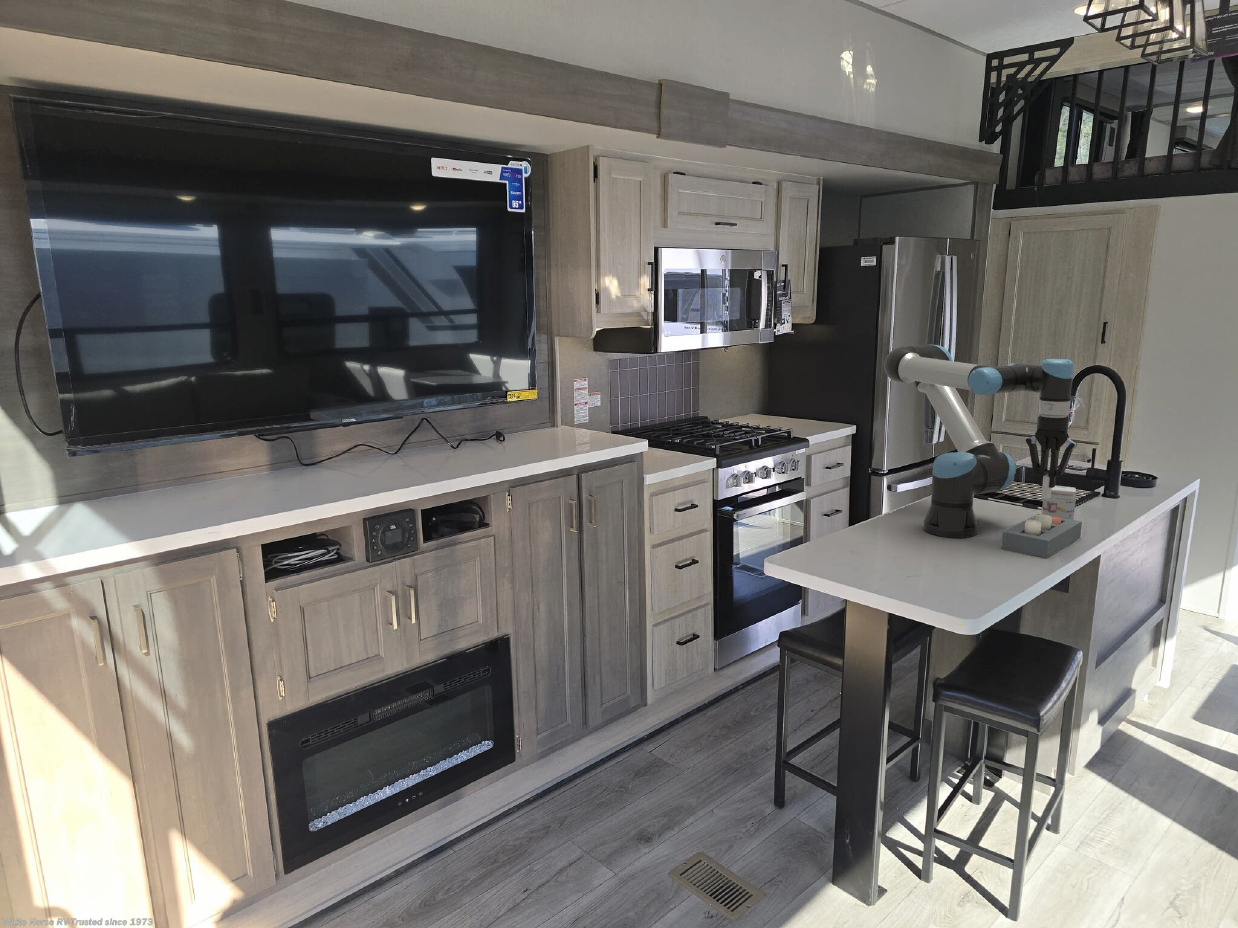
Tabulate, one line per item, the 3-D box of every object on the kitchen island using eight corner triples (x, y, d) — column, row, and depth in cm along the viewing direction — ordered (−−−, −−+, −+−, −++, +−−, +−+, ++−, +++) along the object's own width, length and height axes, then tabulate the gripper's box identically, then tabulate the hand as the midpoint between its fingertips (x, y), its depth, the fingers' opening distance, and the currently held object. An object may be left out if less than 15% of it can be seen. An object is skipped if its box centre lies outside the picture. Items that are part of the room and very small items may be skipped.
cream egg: (1047, 535, 221) (1048, 519, 220) (1032, 532, 224) (1033, 516, 223) (1052, 532, 224) (1054, 516, 223) (1037, 529, 227) (1039, 513, 226)
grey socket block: (1046, 558, 212) (1048, 540, 211) (1001, 548, 221) (1002, 531, 220) (1080, 537, 228) (1081, 521, 227) (1036, 529, 237) (1038, 513, 236)
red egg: (1056, 536, 226) (1058, 520, 225) (1041, 533, 229) (1043, 517, 228) (1061, 533, 229) (1063, 517, 228) (1047, 530, 232) (1048, 514, 231)
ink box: (1040, 525, 241) (1044, 488, 239) (1040, 521, 246) (1044, 484, 243) (1072, 528, 237) (1076, 490, 235) (1072, 524, 242) (1076, 487, 239)
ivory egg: (1036, 541, 216) (1038, 524, 215) (1021, 538, 219) (1022, 521, 218) (1042, 538, 219) (1043, 521, 218) (1027, 535, 222) (1028, 518, 221)
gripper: (1023, 415, 219) (1016, 496, 224) (1074, 419, 210) (1066, 504, 214) (1034, 411, 224) (1027, 491, 229) (1084, 416, 214) (1076, 499, 219)
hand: (1046, 498), depth 222 cm, fingers closed
